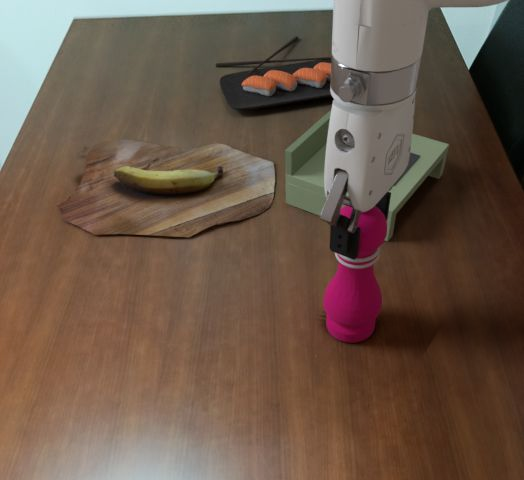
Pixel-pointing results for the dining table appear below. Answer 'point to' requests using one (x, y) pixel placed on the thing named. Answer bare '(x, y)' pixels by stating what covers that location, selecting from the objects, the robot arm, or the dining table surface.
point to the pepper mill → (357, 283)
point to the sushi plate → (276, 82)
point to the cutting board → (167, 189)
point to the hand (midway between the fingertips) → (358, 234)
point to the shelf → (313, 194)
